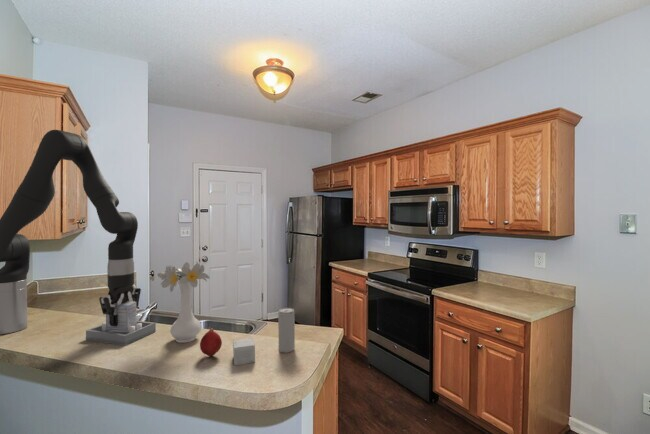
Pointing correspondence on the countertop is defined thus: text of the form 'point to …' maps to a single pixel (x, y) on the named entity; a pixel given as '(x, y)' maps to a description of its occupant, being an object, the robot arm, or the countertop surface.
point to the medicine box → (124, 317)
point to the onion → (210, 343)
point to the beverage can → (286, 330)
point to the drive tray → (120, 333)
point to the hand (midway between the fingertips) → (121, 322)
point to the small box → (244, 351)
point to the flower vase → (184, 299)
